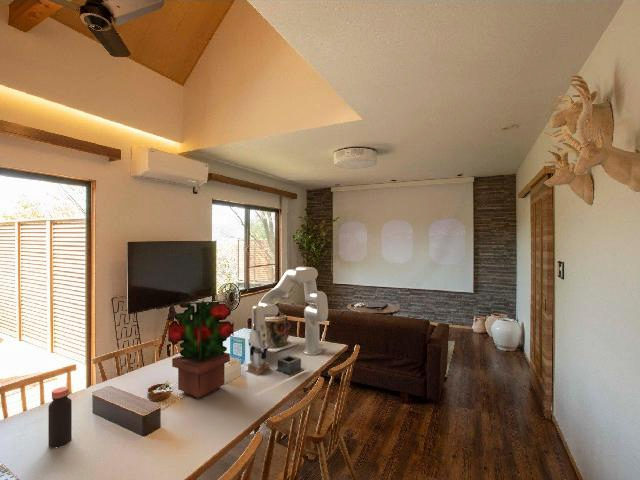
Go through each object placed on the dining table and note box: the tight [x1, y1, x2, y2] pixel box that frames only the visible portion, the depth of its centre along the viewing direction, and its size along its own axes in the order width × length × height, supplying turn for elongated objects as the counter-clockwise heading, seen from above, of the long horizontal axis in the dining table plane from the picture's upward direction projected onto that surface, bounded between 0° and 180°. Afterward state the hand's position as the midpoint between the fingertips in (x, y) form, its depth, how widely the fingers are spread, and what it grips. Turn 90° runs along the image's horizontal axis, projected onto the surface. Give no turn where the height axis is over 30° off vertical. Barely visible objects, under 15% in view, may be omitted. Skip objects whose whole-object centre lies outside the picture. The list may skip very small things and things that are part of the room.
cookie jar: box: [263, 300, 299, 354], centre depth 231 cm, size 25×25×32 cm
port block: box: [274, 354, 305, 378], centre depth 185 cm, size 12×12×7 cm
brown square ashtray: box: [245, 361, 272, 377], centre depth 184 cm, size 11×11×5 cm
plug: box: [253, 348, 264, 366], centre depth 184 cm, size 4×4×12 cm
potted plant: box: [167, 298, 235, 400], centre depth 161 cm, size 22×22×45 cm
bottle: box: [47, 386, 73, 449], centre depth 120 cm, size 7×7×20 cm
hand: (258, 356), depth 183 cm, fingers open, 9 cm apart
